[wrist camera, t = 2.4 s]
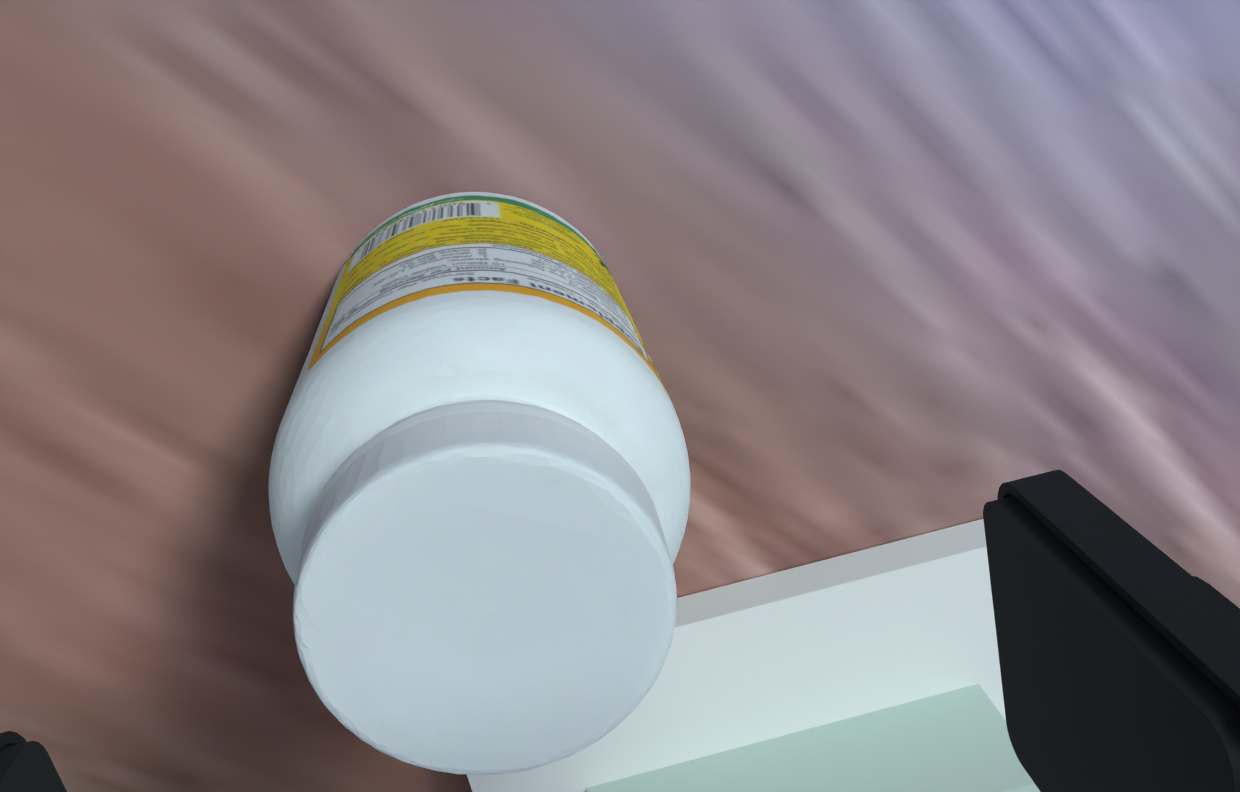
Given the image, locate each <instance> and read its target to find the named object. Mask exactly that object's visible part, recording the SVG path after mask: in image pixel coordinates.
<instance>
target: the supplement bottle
mask: <svg viewBox="0 0 1240 792" xmlns="http://www.w3.org/2000/svg"><path fill="white" fill-rule="evenodd" d="M268 491H269V507H270V515H271V523H272V528H273V532H274V536H275V540H276V544H277V547H278V550H279V553H280V555H281V558H282V561H283V563H284V566H285V568H286V570H287V572H288V574H289V576H290V578H291V580H292V582H293V583H294V585H295V586H294V598H293V625H294V633H295V641H296V645H297V649H298V653H299V657H300V660H301V662H302V665H303V667H304V670H305V672H306V675H307V677H308V680H309V682H310V683H311V685H312V687H313V688H314V690H315V692H316V693H317V695H318V696H319V698H320V700H321V701H322V702H323V704H324V705H325V707H326V708H327V709H328V710H329V711H330V712H331V713H332V714H333V715H334V716H335V717H336V718H337V719H338V720H339V721H340V722H341V723H342V724H343V725H344V726H345V727H346V728H347V729H348V730H350V731H351V732H353V733H354V734H355V735H356V736H357V737H358V738H360V739H361V740H362V741H364V742H366V743H368V744H369V745H371V746H372V747H374V748H375V749H376V750H378V751H380V752H383V753H385V754H387V755H389V756H391V757H393V758H396V759H398V760H400V761H403V762H406V763H409V764H413V765H416V766H419V767H423V768H427V769H430V770H434V771H439V772H446V773H454V774H467V775H496V774H505V773H517V772H522V771H527V770H531V769H534V768H537V767H541V766H544V765H547V764H550V763H553V762H556V761H558V760H561V759H563V758H566V757H569V756H571V755H573V754H574V753H576V752H578V751H580V750H582V749H584V748H586V747H588V746H590V745H591V744H593V743H595V742H597V741H598V740H600V739H601V738H602V737H604V736H605V735H606V734H608V733H609V732H610V731H611V730H613V729H614V728H615V727H617V726H618V725H619V724H620V723H621V722H622V721H623V720H624V719H625V718H626V717H627V716H628V715H629V714H631V713H632V712H633V711H634V709H635V708H636V707H637V706H638V704H639V703H640V702H641V701H642V699H643V698H644V697H645V696H646V694H647V693H648V692H649V690H650V689H651V687H652V685H653V684H654V682H655V681H656V679H657V677H658V675H659V673H660V671H661V669H662V667H663V665H664V662H665V660H666V657H667V654H668V652H669V649H670V646H671V644H672V638H673V632H674V627H675V621H676V612H677V593H676V582H675V575H674V569H673V563H674V561H675V558H676V556H677V553H678V551H679V548H680V545H681V542H682V539H683V536H684V532H685V528H686V523H687V518H688V511H689V501H690V470H689V460H688V453H687V448H686V444H685V439H684V435H683V432H682V429H681V426H680V423H679V420H678V417H677V415H676V412H675V409H674V406H673V404H672V402H671V400H670V398H669V396H668V394H667V392H666V389H665V387H664V385H663V383H662V381H661V379H660V376H659V374H658V372H657V370H656V368H655V366H654V364H653V362H652V360H651V358H650V356H649V354H648V352H647V350H646V348H645V346H644V344H643V341H642V339H641V337H640V335H639V333H638V330H637V328H636V326H635V324H634V322H633V319H632V317H631V315H630V313H629V311H628V309H627V307H626V305H625V303H624V301H623V299H622V297H621V295H620V293H619V290H618V288H617V286H616V284H615V282H614V280H613V278H612V276H611V274H610V272H609V270H608V268H607V266H606V265H605V263H604V262H603V260H602V258H601V257H600V255H599V254H598V252H597V251H596V250H595V248H594V247H593V246H592V245H591V243H590V242H589V241H588V240H587V239H586V238H585V237H584V236H583V235H582V234H581V233H580V232H579V231H578V230H577V229H576V228H574V227H573V226H572V225H570V224H569V223H568V222H566V221H565V220H564V219H562V218H561V217H559V216H558V215H556V214H554V213H552V212H551V211H549V210H547V209H545V208H543V207H541V206H538V205H536V204H534V203H531V202H529V201H526V200H523V199H520V198H516V197H513V196H507V195H502V194H496V193H487V192H461V193H453V194H447V195H442V196H438V197H434V198H430V199H427V200H424V201H421V202H418V203H415V204H413V205H411V206H409V207H407V208H405V209H403V210H401V211H399V212H397V213H395V214H394V215H392V216H391V217H389V218H388V219H386V220H385V221H383V222H382V223H381V224H379V225H378V226H377V227H376V228H375V229H373V230H372V231H371V232H370V233H369V234H368V235H367V236H366V237H365V238H364V239H363V240H362V241H361V242H360V243H359V244H358V245H357V247H356V248H355V249H354V250H353V252H352V253H351V254H350V256H349V258H348V259H347V261H346V263H345V264H344V266H343V268H342V270H341V271H340V273H339V275H338V278H337V280H336V282H335V284H334V287H333V290H332V292H331V295H330V298H329V300H328V303H327V305H326V308H325V311H324V313H323V316H322V318H321V321H320V324H319V326H318V329H317V332H316V334H315V337H314V340H313V342H312V345H311V348H310V351H309V353H308V356H307V358H306V361H305V363H304V366H303V368H302V371H301V373H300V376H299V378H298V381H297V383H296V386H295V388H294V391H293V393H292V396H291V398H290V401H289V403H288V406H287V408H286V411H285V413H284V416H283V418H282V421H281V423H280V426H279V429H278V433H277V436H276V439H275V443H274V447H273V452H272V456H271V463H270V471H269V489H268Z"/></svg>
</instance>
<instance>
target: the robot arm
mask: <svg viewBox="0 0 1240 792" xmlns="http://www.w3.org/2000/svg"><path fill="white" fill-rule="evenodd" d="M983 519H984V528H985V537H986V546H987V555H988V564H989V573H990V582H991V591H992V600H993V609H994V618H995V627H996V636H997V645H998V654H999V663H1000V672H1001V681H1002V690H1003V699H1004V708H1005V717H1006V725H1007V730H1008V734H1009V738H1010V741H1011V744H1012V746H1013V749H1014V751H1015V753H1016V756H1017V758H1018V760H1019V761H1020V763H1021V765H1022V766H1023V768H1024V769H1025V770H1026V772H1027V773H1028V775H1029V776H1030V777H1031V779H1032V780H1033V782H1034V783H1035V785H1036V786H1037V787H1038V789H1039V790H1040V792H1240V609H1239V608H1238V607H1237V606H1236V605H1234V604H1233V603H1232V602H1231V601H1229V600H1228V599H1227V598H1226V597H1224V596H1223V595H1222V594H1221V593H1219V592H1218V591H1217V590H1216V589H1215V588H1213V587H1212V586H1211V585H1210V584H1208V583H1206V582H1205V581H1203V580H1201V579H1199V578H1198V577H1195V576H1191V575H1190V574H1189V573H1188V572H1186V571H1185V570H1184V569H1183V568H1181V567H1180V566H1179V565H1178V564H1177V563H1175V562H1174V561H1173V560H1172V559H1170V558H1169V557H1168V556H1167V555H1166V554H1164V553H1163V552H1162V551H1161V550H1159V549H1158V548H1157V547H1156V546H1154V545H1153V544H1152V543H1151V542H1150V541H1148V540H1147V539H1146V538H1145V537H1143V536H1142V535H1141V534H1140V533H1139V532H1137V531H1136V530H1135V529H1134V528H1132V527H1131V526H1130V525H1129V524H1128V523H1126V522H1125V521H1124V520H1123V519H1121V518H1120V517H1119V516H1118V515H1116V514H1115V513H1114V512H1113V511H1112V510H1110V509H1109V508H1108V507H1107V506H1105V505H1104V504H1103V503H1102V502H1101V501H1099V500H1098V499H1097V498H1096V497H1094V496H1093V495H1092V494H1091V493H1090V492H1088V491H1087V490H1086V489H1085V488H1083V487H1082V486H1081V485H1080V484H1078V483H1077V482H1076V481H1075V480H1074V479H1072V478H1071V477H1070V476H1069V475H1067V474H1066V473H1065V472H1063V471H1061V470H1055V471H1050V472H1046V473H1042V474H1038V475H1034V476H1030V477H1026V478H1022V479H1018V480H1014V481H1010V482H1006V483H1002V485H1001V486H1000V488H999V492H998V500H995V501H991V502H987V503H986V504H985V505H984V510H983ZM0 792H67V791H66V789H65V787H64V785H63V783H62V781H61V779H60V777H59V775H58V773H57V771H56V769H55V767H54V765H53V763H52V761H51V758H50V756H49V754H48V753H47V751H46V750H45V748H44V747H43V746H42V745H41V744H40V743H39V742H36V741H30V742H26V740H25V739H24V738H23V737H22V736H20V735H19V734H18V733H16V732H12V731H8V732H3V733H0Z"/></svg>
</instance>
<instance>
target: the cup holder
mask: <svg viewBox="0 0 1240 792" xmlns="http://www.w3.org/2000/svg"><path fill="white" fill-rule="evenodd" d="M467 777H468V780H469V783H470V786H471V789H472V792H1040V790H1039V789H1038V787H1037V786H1036V785H1035V783H1034V782H1033V780H1032V779H1031V777H1030V776H1029V775H1028V773H1027V772H1026V770H1025V769H1024V768H1023V766H1022V765H1021V763H1020V761H1019V760H1018V758H1017V756H1016V753H1015V751H1014V749H1013V746H1012V744H1011V741H1010V738H1009V734H1008V730H1007V725H1006V717H1005V708H1004V699H1003V690H1002V681H1001V672H1000V663H999V654H998V645H997V636H996V627H995V618H994V609H993V600H992V591H991V582H990V573H989V564H988V555H987V546H986V537H985V528H984V519H980V520H977V521H973V522H969V523H965V524H961V525H957V526H953V527H950V528H946V529H942V530H938V531H934V532H930V533H926V534H923V535H919V536H915V537H911V538H907V539H903V540H899V541H896V542H892V543H888V544H884V545H880V546H876V547H872V548H869V549H865V550H861V551H857V552H853V553H849V554H845V555H842V556H838V557H834V558H830V559H826V560H822V561H818V562H815V563H811V564H807V565H803V566H799V567H795V568H791V569H788V570H784V571H780V572H776V573H772V574H768V575H764V576H761V577H757V578H753V579H749V580H745V581H741V582H737V583H734V584H730V585H726V586H722V587H718V588H714V589H710V590H707V591H703V592H699V593H695V594H691V595H687V596H683V597H680V598H677V612H676V621H675V627H674V632H673V638H672V644H671V646H670V649H669V652H668V654H667V657H666V660H665V662H664V665H663V667H662V669H661V671H660V673H659V675H658V677H657V679H656V681H655V682H654V684H653V685H652V687H651V689H650V690H649V692H648V693H647V694H646V696H645V697H644V698H643V699H642V701H641V702H640V703H639V704H638V706H637V707H636V708H635V709H634V711H633V712H632V713H631V714H629V715H628V716H627V717H626V718H625V719H624V720H623V721H622V722H621V723H620V724H619V725H618V726H617V727H615V728H614V729H613V730H611V731H610V732H609V733H608V734H606V735H605V736H604V737H602V738H601V739H600V740H598V741H597V742H595V743H593V744H591V745H590V746H588V747H586V748H584V749H582V750H580V751H578V752H576V753H574V754H573V755H571V756H569V757H566V758H563V759H561V760H558V761H556V762H553V763H550V764H547V765H544V766H541V767H537V768H534V769H531V770H527V771H522V772H517V773H505V774H496V775H467Z"/></svg>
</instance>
